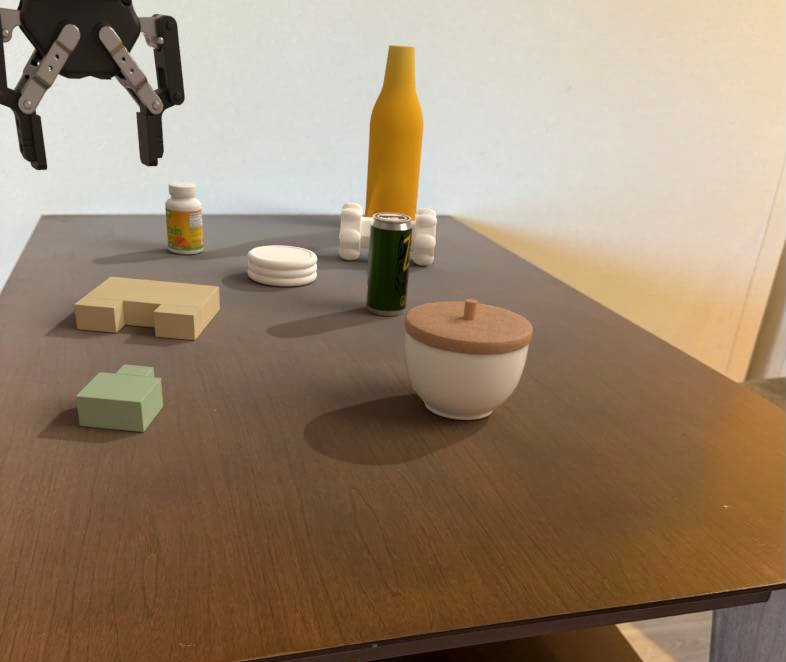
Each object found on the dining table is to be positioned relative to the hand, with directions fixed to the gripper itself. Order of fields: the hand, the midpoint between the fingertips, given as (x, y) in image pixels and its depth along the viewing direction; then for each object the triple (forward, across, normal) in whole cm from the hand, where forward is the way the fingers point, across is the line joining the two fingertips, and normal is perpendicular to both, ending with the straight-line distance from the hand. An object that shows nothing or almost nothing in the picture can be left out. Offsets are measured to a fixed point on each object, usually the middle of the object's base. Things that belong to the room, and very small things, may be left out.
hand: (95, 166), depth 66 cm
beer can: (+23, -43, -21) cm, 53 cm away
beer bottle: (+23, -70, -60) cm, 95 cm away
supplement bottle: (+23, -30, -58) cm, 69 cm away
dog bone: (+23, -57, -43) cm, 75 cm away
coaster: (+23, -37, -40) cm, 59 cm away
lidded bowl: (+23, -32, +9) cm, 40 cm away
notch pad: (+23, -14, -29) cm, 39 cm away
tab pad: (+23, -2, -4) cm, 23 cm away
